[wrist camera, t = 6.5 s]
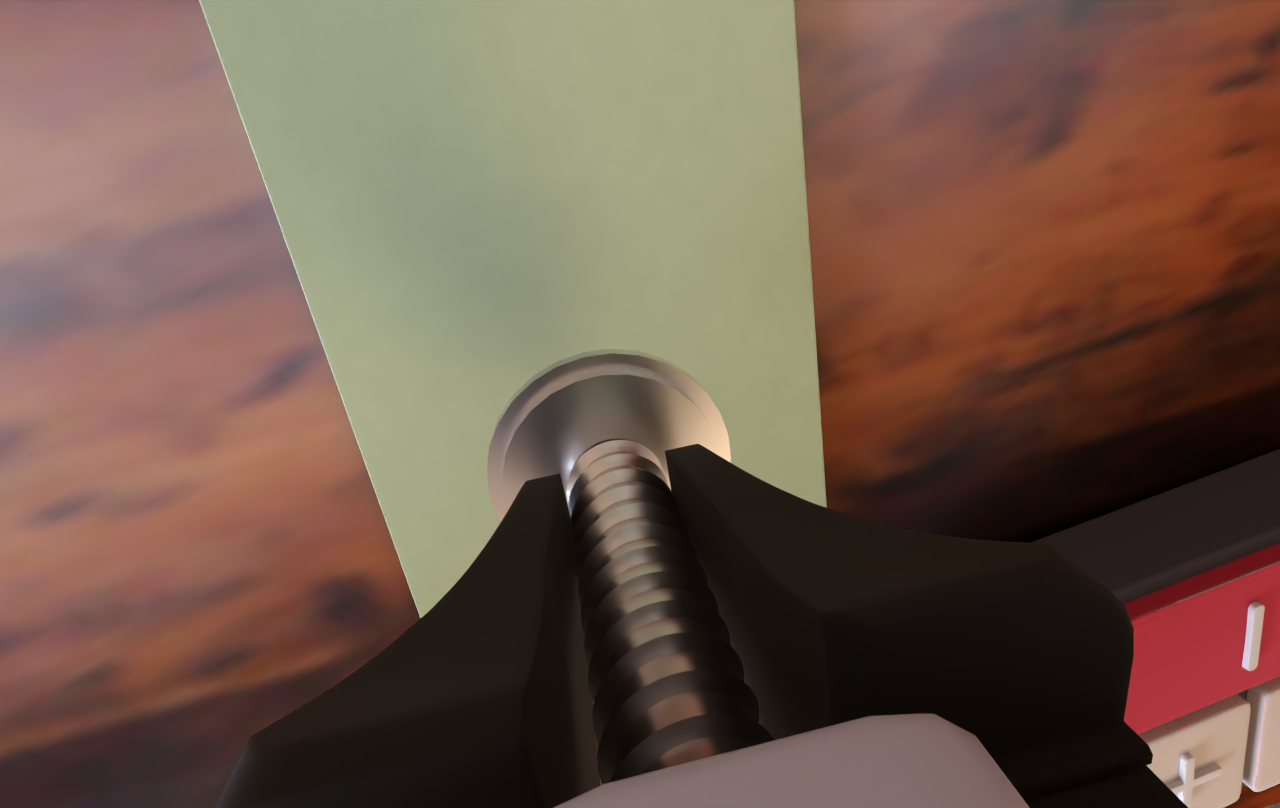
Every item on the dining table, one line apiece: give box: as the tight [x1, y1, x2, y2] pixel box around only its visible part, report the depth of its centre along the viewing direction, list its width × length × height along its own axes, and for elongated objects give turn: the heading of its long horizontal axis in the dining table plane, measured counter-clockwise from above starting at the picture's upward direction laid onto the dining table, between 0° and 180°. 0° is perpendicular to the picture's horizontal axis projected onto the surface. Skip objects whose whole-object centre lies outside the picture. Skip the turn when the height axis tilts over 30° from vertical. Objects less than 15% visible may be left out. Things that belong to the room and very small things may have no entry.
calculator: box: [1030, 449, 1280, 808], centre depth 22 cm, size 11×4×15 cm
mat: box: [199, 0, 827, 703], centre depth 18 cm, size 20×12×1 cm, turn 9°
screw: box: [486, 349, 774, 784], centre depth 9 cm, size 13×5×5 cm
